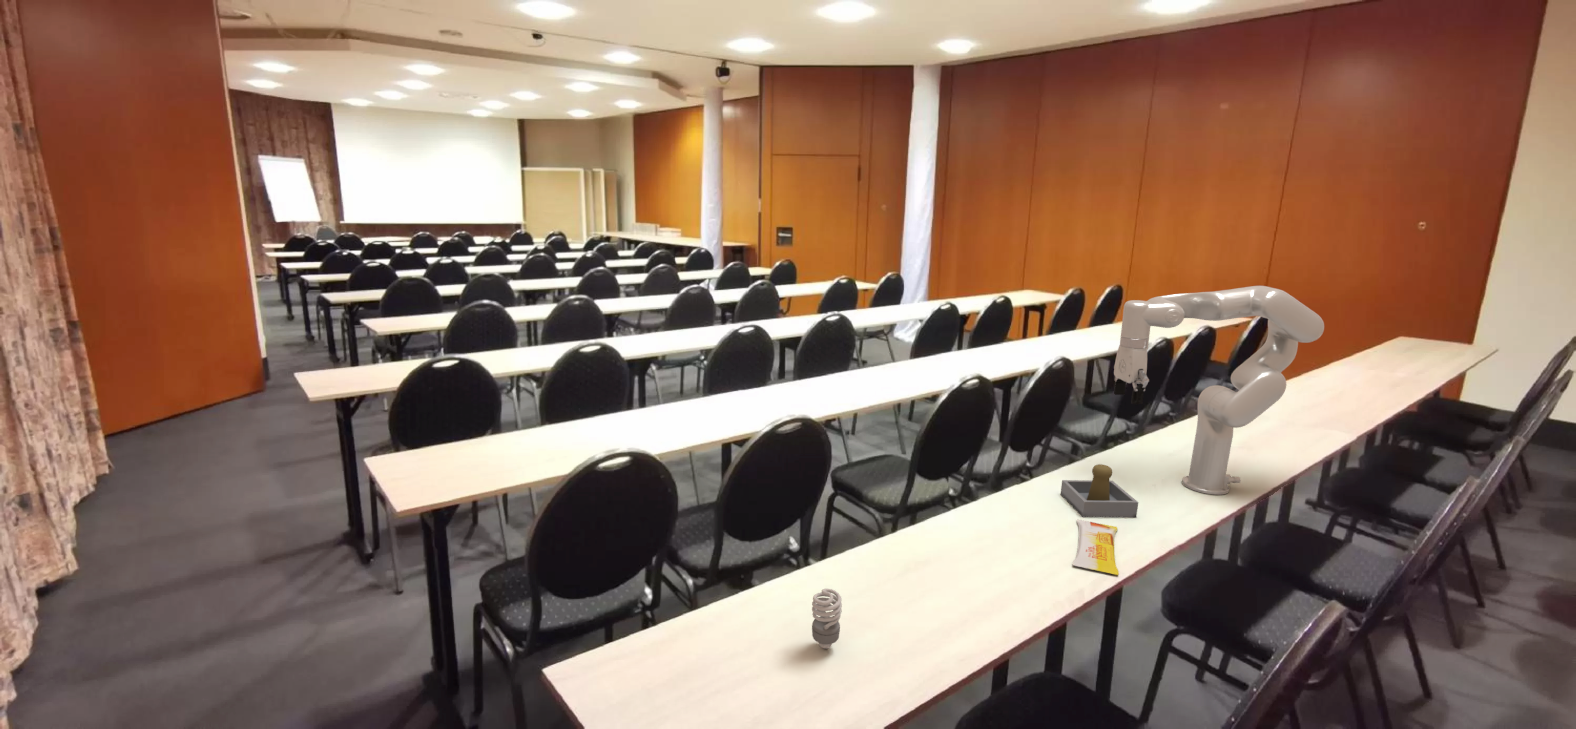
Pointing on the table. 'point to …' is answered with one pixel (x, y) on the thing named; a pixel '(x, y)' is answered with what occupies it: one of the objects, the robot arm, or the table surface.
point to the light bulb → (826, 617)
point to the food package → (1096, 547)
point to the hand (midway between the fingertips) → (1127, 398)
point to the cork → (1100, 483)
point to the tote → (1116, 507)
